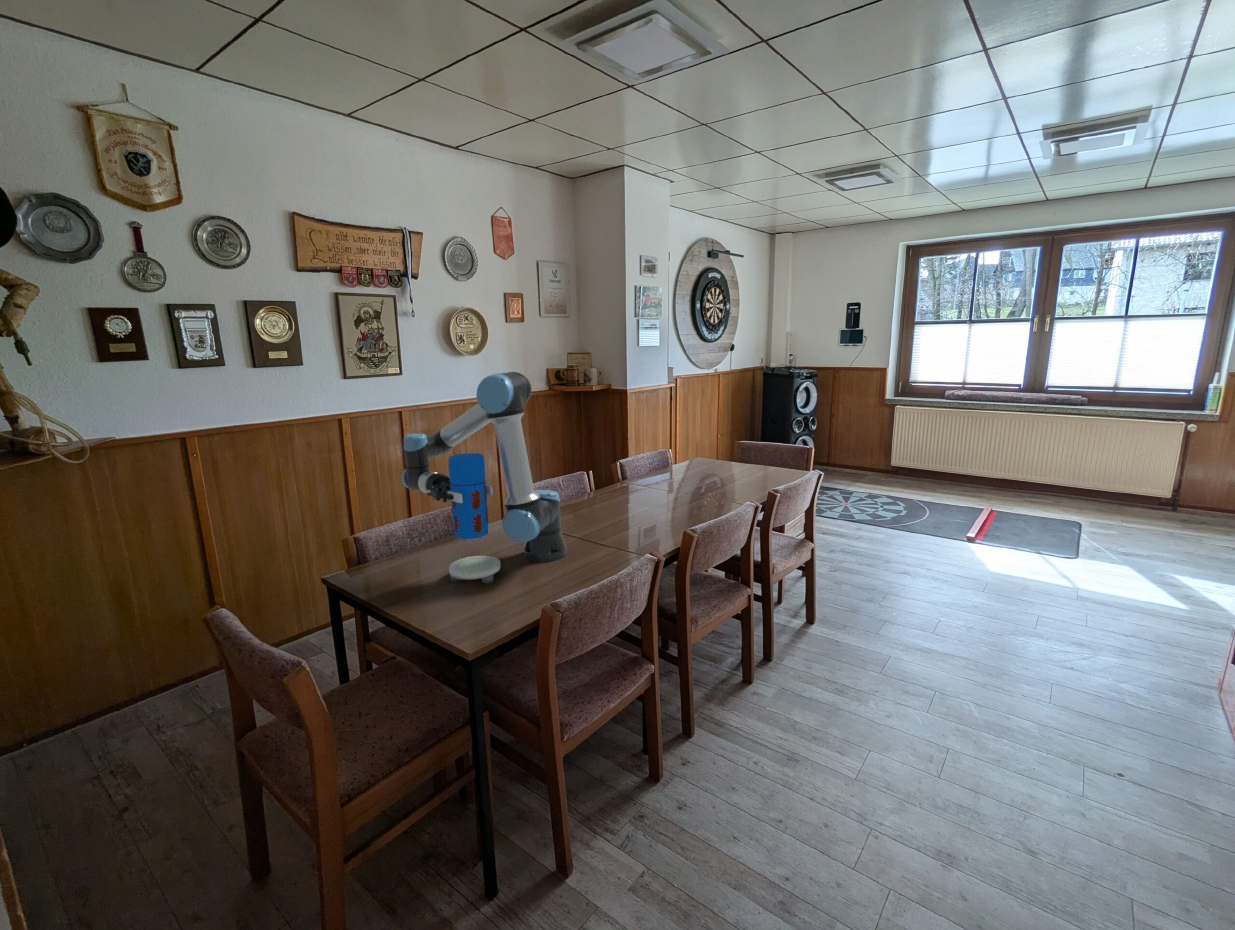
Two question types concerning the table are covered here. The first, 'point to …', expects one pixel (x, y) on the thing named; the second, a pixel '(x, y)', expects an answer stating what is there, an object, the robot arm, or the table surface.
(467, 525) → the thermos
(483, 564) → the levelling base
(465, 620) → the table surface
